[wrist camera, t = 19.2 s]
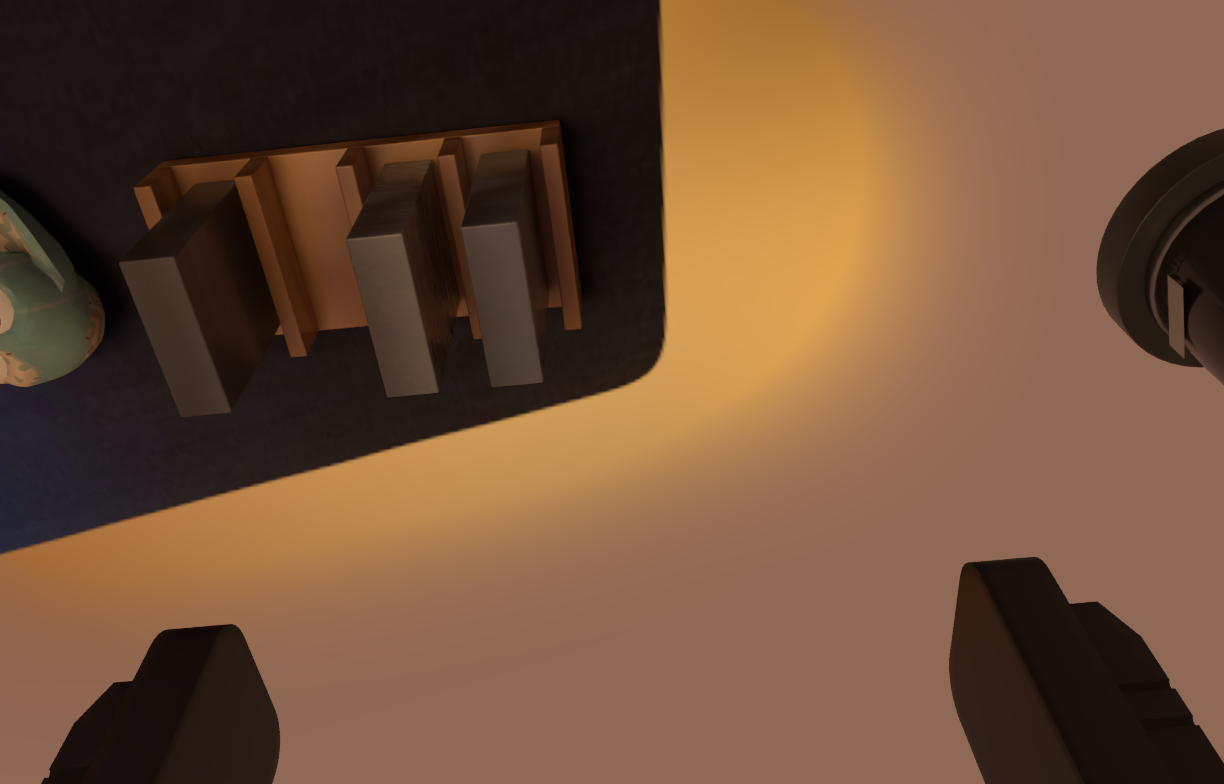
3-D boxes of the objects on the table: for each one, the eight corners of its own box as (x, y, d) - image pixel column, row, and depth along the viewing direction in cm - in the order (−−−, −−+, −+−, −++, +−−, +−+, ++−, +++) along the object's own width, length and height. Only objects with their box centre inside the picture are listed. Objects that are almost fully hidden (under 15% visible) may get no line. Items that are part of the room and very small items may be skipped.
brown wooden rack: (559, 119, 44) (554, 194, 36) (582, 295, 49) (581, 397, 41) (162, 160, 44) (69, 244, 36) (223, 331, 49) (153, 438, 41)
